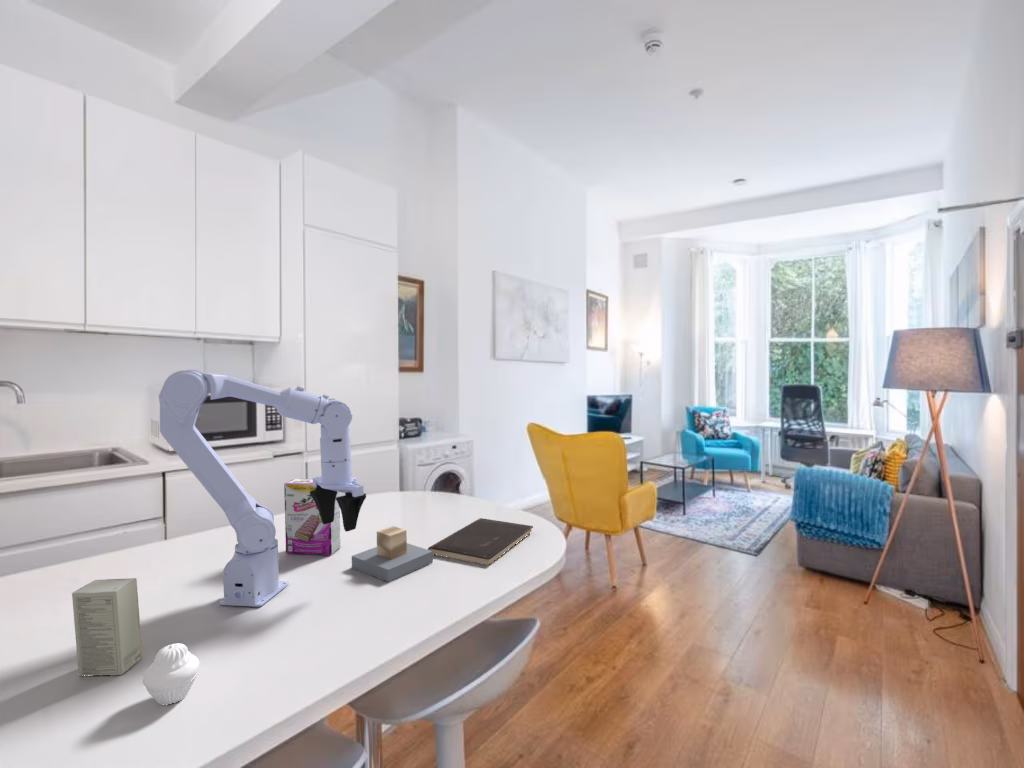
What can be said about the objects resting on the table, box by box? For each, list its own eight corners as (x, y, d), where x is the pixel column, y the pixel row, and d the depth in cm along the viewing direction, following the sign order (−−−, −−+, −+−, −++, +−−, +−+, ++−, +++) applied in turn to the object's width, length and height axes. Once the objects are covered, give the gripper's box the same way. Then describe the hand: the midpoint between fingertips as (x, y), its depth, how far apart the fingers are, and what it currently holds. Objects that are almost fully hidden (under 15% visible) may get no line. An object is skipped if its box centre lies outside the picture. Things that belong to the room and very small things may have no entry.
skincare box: (143, 658, 74) (140, 577, 74) (121, 676, 70) (117, 591, 69) (99, 659, 74) (96, 578, 73) (74, 678, 70) (70, 592, 69)
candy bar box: (284, 554, 114) (282, 483, 113) (296, 546, 119) (294, 478, 118) (331, 556, 113) (330, 484, 112) (341, 548, 118) (340, 478, 117)
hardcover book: (533, 534, 127) (533, 526, 127) (489, 568, 107) (489, 558, 107) (478, 526, 134) (478, 517, 134) (427, 556, 114) (427, 546, 114)
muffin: (211, 686, 68) (210, 635, 67) (170, 717, 62) (168, 662, 61) (175, 679, 69) (173, 629, 69) (131, 709, 63) (129, 654, 63)
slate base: (432, 562, 109) (432, 551, 109) (388, 582, 99) (388, 569, 99) (396, 550, 116) (396, 539, 116) (351, 567, 106) (351, 555, 106)
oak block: (406, 552, 108) (406, 530, 108) (390, 559, 104) (389, 535, 104) (393, 548, 110) (393, 526, 110) (377, 554, 107) (376, 531, 107)
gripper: (375, 459, 99) (377, 527, 100) (332, 452, 108) (335, 514, 109) (344, 466, 94) (347, 537, 95) (302, 458, 103) (305, 524, 103)
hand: (338, 526), depth 101 cm, fingers open, 7 cm apart
